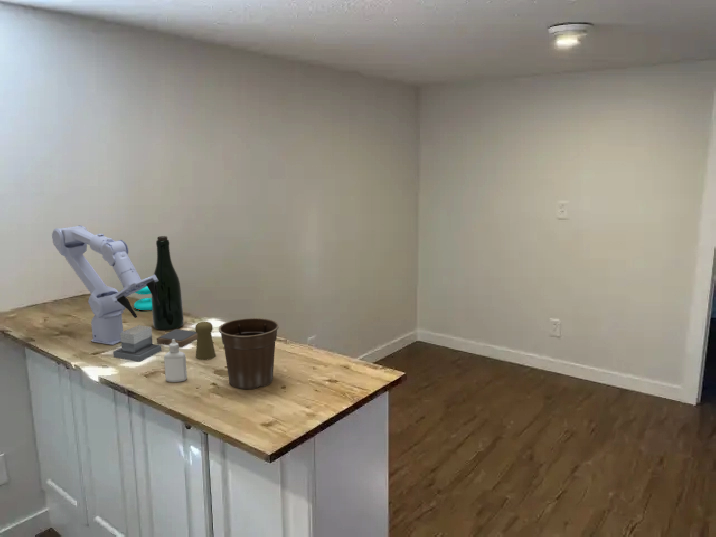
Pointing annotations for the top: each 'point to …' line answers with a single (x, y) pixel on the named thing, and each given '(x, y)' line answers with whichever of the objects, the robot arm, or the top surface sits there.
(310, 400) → the top surface
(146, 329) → the block
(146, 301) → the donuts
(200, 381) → the top surface
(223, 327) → the plant pot
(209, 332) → the cork
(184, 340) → the stand
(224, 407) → the top surface
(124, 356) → the stand
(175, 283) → the dark green wine bottle
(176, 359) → the eye dropper bottle
